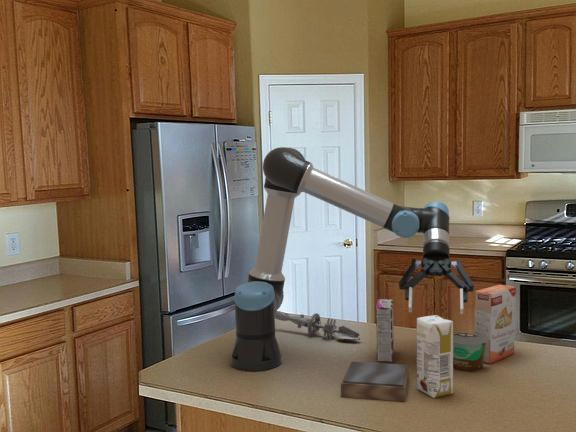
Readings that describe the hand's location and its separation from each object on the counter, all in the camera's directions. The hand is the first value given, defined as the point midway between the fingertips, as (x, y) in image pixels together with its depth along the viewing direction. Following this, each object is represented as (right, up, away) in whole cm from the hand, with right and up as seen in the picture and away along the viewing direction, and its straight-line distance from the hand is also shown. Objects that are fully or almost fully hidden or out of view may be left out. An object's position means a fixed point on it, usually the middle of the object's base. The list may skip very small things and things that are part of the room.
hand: (435, 310), depth 165 cm
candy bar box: (-10, -17, +20) cm, 29 cm away
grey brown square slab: (-17, -19, -5) cm, 26 cm away
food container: (+10, -18, +8) cm, 22 cm away
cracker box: (+22, -17, +17) cm, 32 cm away
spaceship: (-31, -16, +43) cm, 56 cm away
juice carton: (-2, -20, -8) cm, 21 cm away
